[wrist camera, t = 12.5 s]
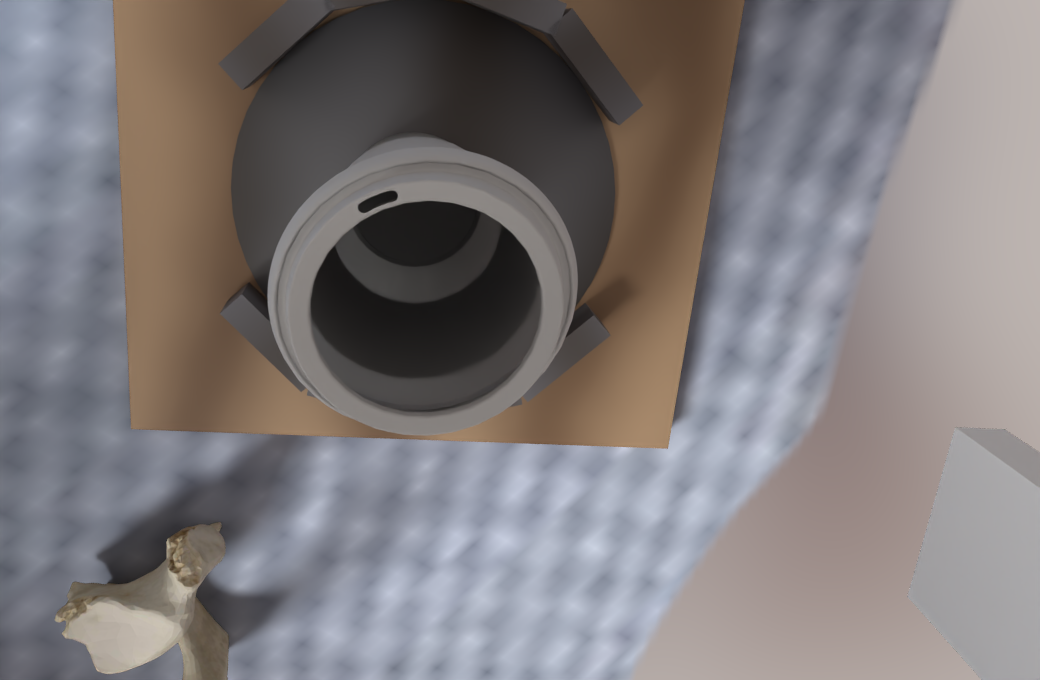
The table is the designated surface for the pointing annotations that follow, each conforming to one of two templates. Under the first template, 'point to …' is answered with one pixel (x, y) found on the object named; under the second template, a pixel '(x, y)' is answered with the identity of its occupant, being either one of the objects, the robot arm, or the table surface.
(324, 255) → the cup
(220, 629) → the bone
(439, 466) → the table surface
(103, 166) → the table surface
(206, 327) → the ring holder
